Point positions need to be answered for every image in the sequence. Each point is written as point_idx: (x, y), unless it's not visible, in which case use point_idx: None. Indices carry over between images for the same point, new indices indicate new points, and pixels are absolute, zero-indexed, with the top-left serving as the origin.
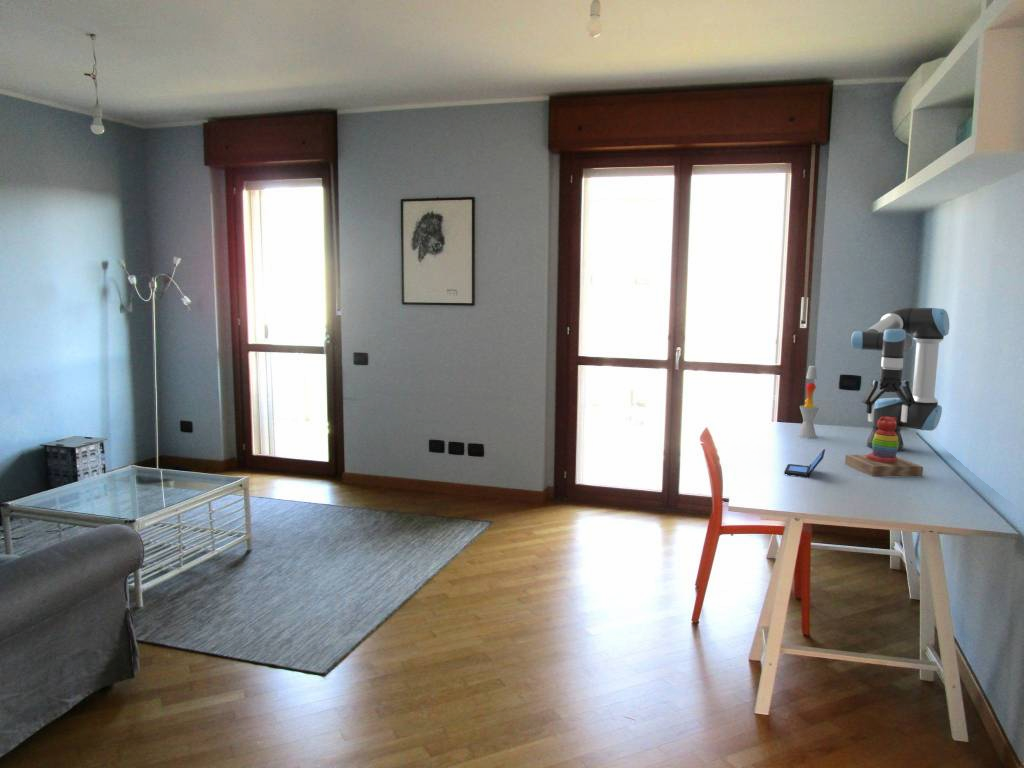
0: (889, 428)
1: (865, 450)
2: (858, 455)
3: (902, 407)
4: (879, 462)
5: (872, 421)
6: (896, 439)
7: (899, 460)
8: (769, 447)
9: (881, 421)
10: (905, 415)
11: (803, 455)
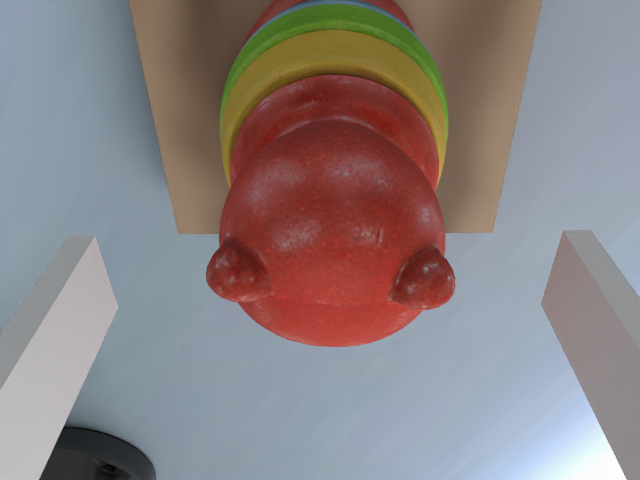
0: (357, 129)
1: (194, 432)
2: None
3: (33, 468)
4: (408, 4)
5: (577, 236)
6: (273, 54)
7: (204, 85)
8: (613, 456)
9: (440, 238)
10: (52, 301)
11: None
